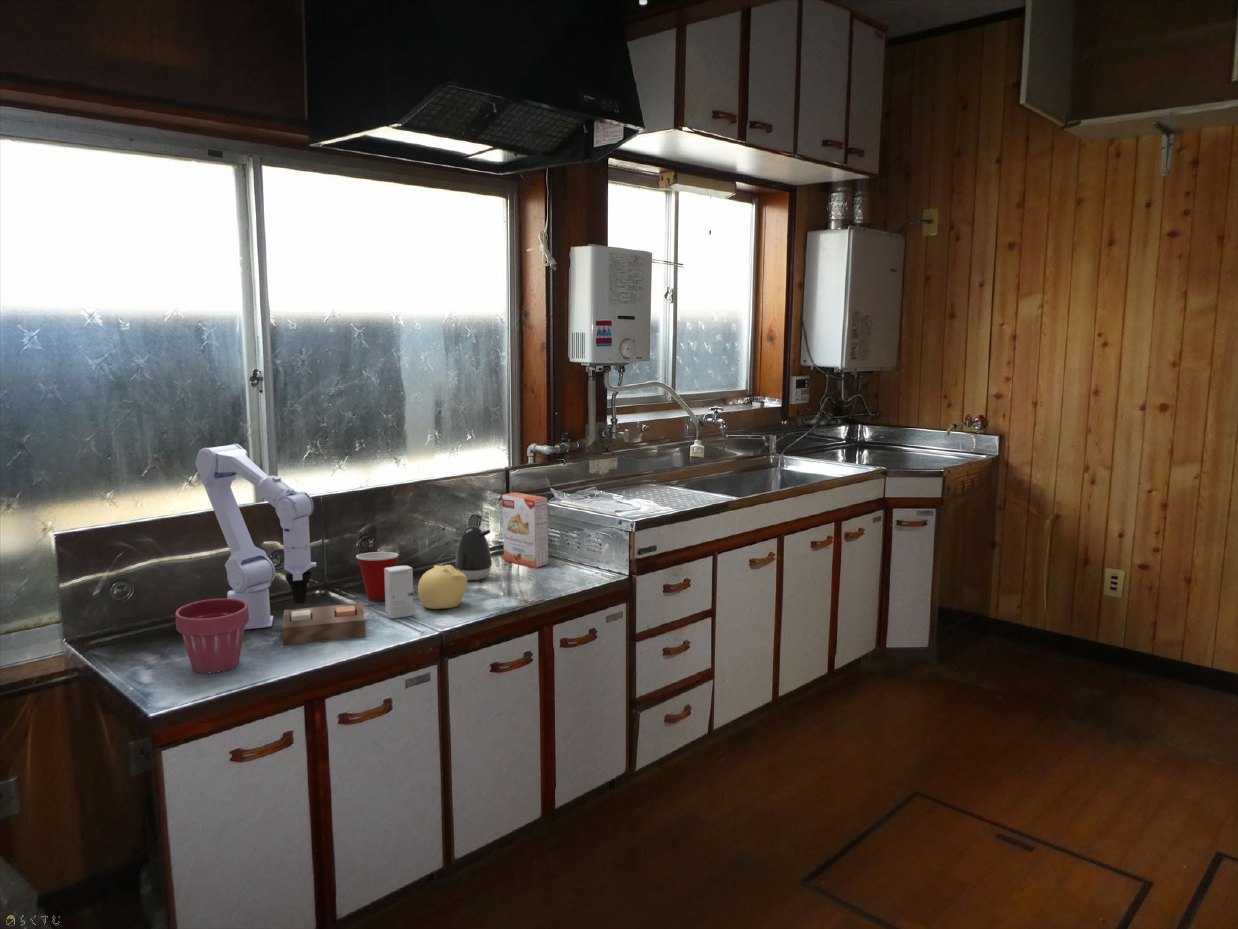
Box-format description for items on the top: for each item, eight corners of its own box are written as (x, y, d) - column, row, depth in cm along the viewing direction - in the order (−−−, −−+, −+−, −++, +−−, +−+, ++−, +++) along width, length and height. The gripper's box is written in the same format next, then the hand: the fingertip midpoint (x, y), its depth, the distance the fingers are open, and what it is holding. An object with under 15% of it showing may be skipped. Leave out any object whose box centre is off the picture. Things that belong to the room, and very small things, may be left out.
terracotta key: (337, 626, 215) (336, 612, 215) (336, 621, 219) (336, 607, 218) (355, 624, 216) (355, 610, 216) (355, 619, 220) (354, 605, 220)
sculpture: (474, 606, 235) (473, 565, 234) (433, 616, 227) (432, 574, 226) (451, 597, 244) (449, 557, 242) (410, 606, 236) (409, 565, 234)
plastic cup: (405, 592, 248) (404, 549, 246) (392, 604, 237) (390, 559, 236) (367, 591, 249) (364, 548, 247) (351, 603, 238) (349, 558, 237)
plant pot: (250, 673, 190) (246, 613, 188) (175, 682, 186) (171, 621, 184) (253, 650, 204) (249, 595, 202) (183, 658, 199) (178, 601, 197)
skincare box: (391, 619, 225) (389, 571, 223) (385, 615, 229) (382, 567, 227) (415, 615, 228) (413, 568, 226) (408, 610, 232) (406, 564, 230)
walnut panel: (282, 645, 207) (281, 628, 206) (285, 626, 220) (284, 610, 220) (365, 636, 213) (364, 620, 212) (362, 618, 226) (361, 603, 225)
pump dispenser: (483, 584, 255) (482, 531, 253) (449, 581, 258) (448, 528, 256) (498, 574, 265) (497, 523, 263) (465, 572, 268) (464, 521, 266)
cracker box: (502, 561, 280) (501, 494, 277) (517, 557, 285) (515, 491, 282) (535, 569, 271) (533, 499, 268) (549, 565, 276) (548, 496, 273)
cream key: (292, 631, 212) (291, 616, 212) (292, 625, 216) (291, 611, 215) (311, 629, 213) (310, 614, 213) (311, 623, 217) (310, 609, 217)
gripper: (315, 551, 206) (318, 610, 208) (315, 537, 220) (318, 592, 222) (281, 554, 204) (285, 613, 206) (284, 539, 218) (287, 595, 220)
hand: (300, 602), depth 214 cm, fingers closed
